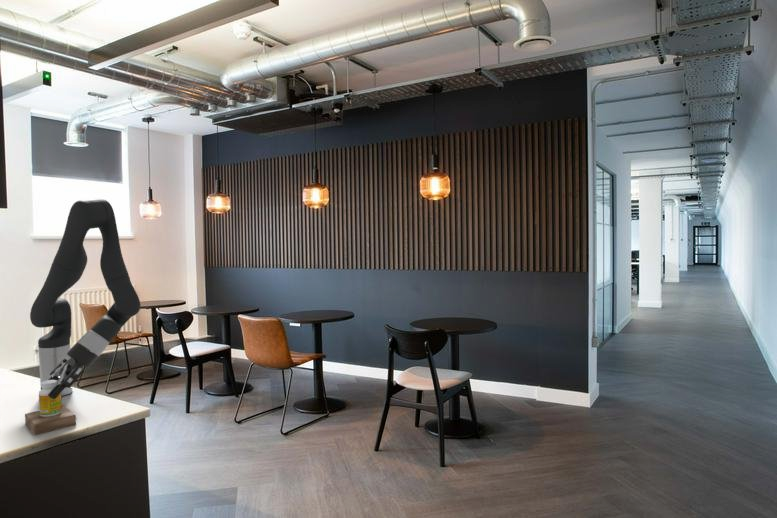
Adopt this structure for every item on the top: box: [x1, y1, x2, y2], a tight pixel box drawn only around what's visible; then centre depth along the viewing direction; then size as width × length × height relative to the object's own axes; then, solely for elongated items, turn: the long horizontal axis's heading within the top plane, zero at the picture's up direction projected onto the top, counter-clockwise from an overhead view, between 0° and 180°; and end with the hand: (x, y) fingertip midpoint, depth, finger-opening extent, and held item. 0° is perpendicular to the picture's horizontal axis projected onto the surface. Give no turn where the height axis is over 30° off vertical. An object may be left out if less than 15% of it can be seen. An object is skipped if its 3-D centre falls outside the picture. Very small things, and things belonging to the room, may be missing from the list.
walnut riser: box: [24, 404, 77, 436], centre depth 149 cm, size 12×10×3 cm
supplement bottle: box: [38, 380, 62, 417], centre depth 149 cm, size 5×5×10 cm
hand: (47, 394), depth 148 cm, fingers open, 8 cm apart
